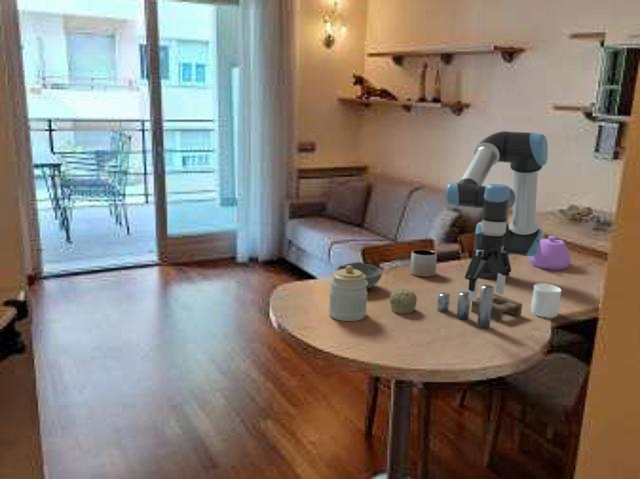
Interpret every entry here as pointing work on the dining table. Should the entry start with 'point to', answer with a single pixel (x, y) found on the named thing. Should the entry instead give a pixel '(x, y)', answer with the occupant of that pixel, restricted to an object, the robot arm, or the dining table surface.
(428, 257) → the planter
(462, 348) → the dining table surface
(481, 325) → the long pin
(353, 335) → the dining table surface
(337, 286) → the jar
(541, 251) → the teapot
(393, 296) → the decorative item
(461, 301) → the medium pin
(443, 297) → the short pin
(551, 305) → the cup
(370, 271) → the bowl
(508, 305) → the block
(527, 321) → the dining table surface
